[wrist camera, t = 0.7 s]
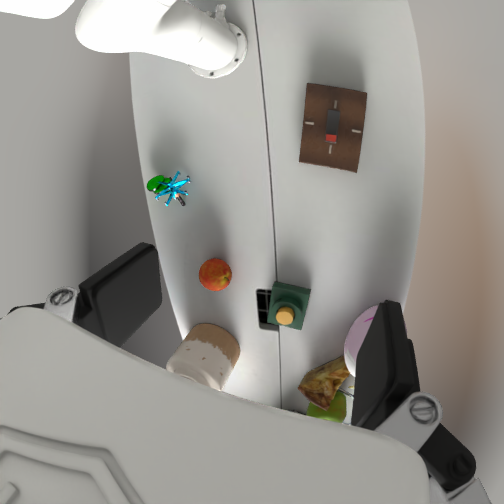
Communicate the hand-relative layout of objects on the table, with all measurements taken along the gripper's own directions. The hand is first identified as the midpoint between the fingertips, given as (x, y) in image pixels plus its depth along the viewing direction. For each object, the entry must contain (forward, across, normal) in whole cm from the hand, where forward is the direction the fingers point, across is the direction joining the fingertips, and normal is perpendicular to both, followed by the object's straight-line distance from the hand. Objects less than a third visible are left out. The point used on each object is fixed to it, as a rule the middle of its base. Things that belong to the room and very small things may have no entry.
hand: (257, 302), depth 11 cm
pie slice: (+41, -14, +46) cm, 63 cm away
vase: (+42, +20, +51) cm, 69 cm away
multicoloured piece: (+42, +30, +9) cm, 52 cm away
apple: (+42, -15, +60) cm, 75 cm away
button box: (+42, +2, +31) cm, 52 cm away
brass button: (+38, +2, +31) cm, 49 cm away
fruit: (+40, +22, +26) cm, 52 cm away
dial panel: (+42, 0, -8) cm, 42 cm away
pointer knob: (+39, -1, -7) cm, 39 cm away
